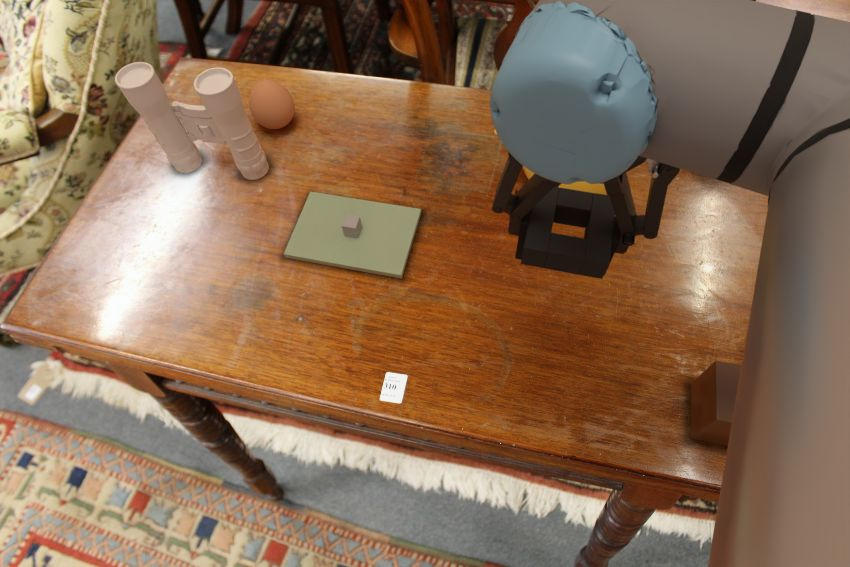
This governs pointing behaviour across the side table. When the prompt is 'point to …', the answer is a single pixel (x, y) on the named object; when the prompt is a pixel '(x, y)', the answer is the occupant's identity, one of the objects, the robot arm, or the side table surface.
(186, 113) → the binoculars
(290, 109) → the egg
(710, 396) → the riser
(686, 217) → the side table surface
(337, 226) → the base mat
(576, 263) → the dark square frame
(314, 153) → the side table surface
